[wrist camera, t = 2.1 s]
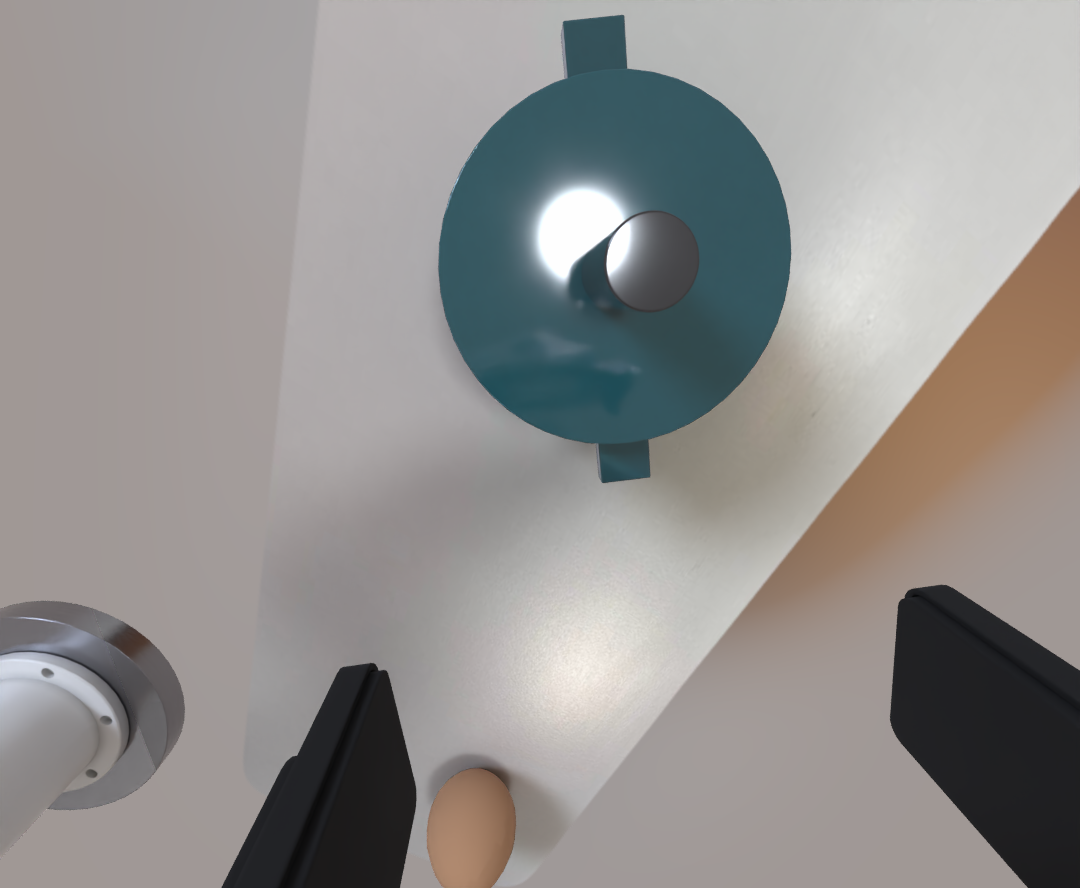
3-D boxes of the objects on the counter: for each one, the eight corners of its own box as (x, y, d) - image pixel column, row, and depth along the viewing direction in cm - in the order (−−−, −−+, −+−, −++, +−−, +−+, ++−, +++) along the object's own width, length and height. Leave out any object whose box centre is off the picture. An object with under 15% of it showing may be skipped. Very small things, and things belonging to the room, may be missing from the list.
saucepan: (493, 444, 34) (485, 503, 24) (448, 123, 29) (413, 25, 19) (695, 420, 34) (771, 468, 24) (685, 98, 29) (776, -13, 19)
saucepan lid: (468, 456, 24) (453, 510, 17) (414, 101, 20) (367, 5, 14) (776, 418, 24) (870, 459, 18) (780, 61, 20) (903, -51, 14)
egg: (420, 765, 41) (398, 877, 33) (493, 734, 40) (488, 839, 32) (458, 820, 42) (446, 940, 34) (529, 791, 42) (532, 905, 34)
